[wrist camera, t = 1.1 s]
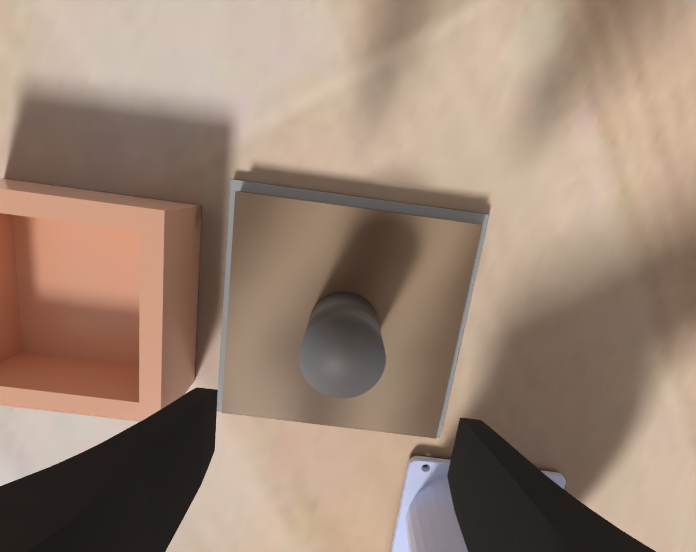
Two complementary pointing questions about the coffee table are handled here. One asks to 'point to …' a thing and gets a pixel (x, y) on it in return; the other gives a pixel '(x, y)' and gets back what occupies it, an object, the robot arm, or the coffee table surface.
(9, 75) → the coffee table surface
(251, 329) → the walnut lid
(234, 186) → the rubber mat
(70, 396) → the peach square box
